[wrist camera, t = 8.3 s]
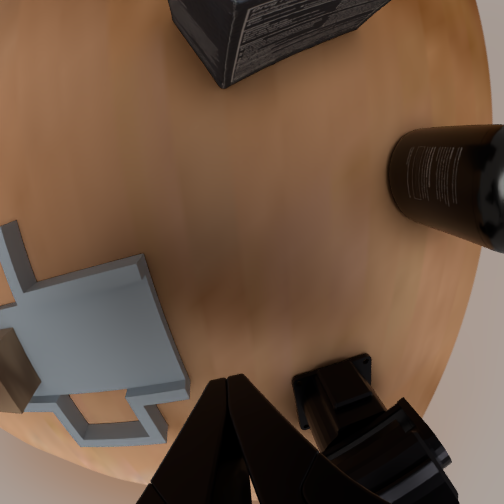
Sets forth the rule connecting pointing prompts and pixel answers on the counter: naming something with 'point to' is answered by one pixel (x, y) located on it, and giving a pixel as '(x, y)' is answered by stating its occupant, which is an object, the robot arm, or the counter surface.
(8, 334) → the walnut block
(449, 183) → the supplement bottle
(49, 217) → the counter surface
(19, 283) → the trap tray
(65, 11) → the counter surface
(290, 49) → the small box
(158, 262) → the counter surface
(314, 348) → the counter surface
